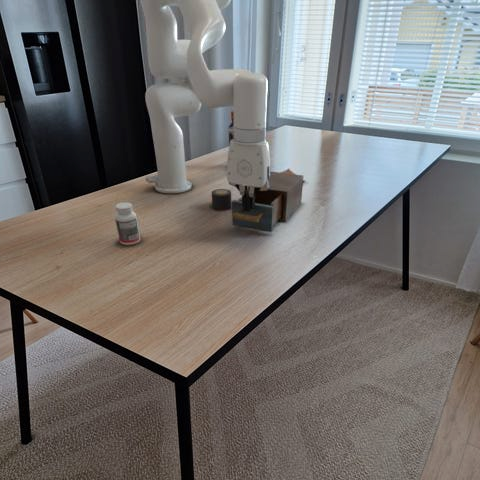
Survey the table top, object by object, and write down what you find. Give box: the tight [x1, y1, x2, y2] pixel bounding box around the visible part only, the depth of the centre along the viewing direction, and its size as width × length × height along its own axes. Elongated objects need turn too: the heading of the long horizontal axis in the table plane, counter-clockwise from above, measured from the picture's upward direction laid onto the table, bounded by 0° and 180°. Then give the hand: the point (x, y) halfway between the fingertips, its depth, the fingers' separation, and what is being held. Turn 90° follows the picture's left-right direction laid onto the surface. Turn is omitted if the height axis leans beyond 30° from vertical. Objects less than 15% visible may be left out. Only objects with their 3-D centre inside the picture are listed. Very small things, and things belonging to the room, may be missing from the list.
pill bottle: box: [114, 202, 141, 246], centre depth 105 cm, size 5×5×10 cm
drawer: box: [231, 191, 284, 233], centre depth 113 cm, size 19×12×7 cm, turn 156°
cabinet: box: [248, 170, 304, 223], centre depth 123 cm, size 16×13×9 cm
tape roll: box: [211, 188, 232, 211], centre depth 126 cm, size 6×6×5 cm
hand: (248, 209), depth 107 cm, fingers closed
